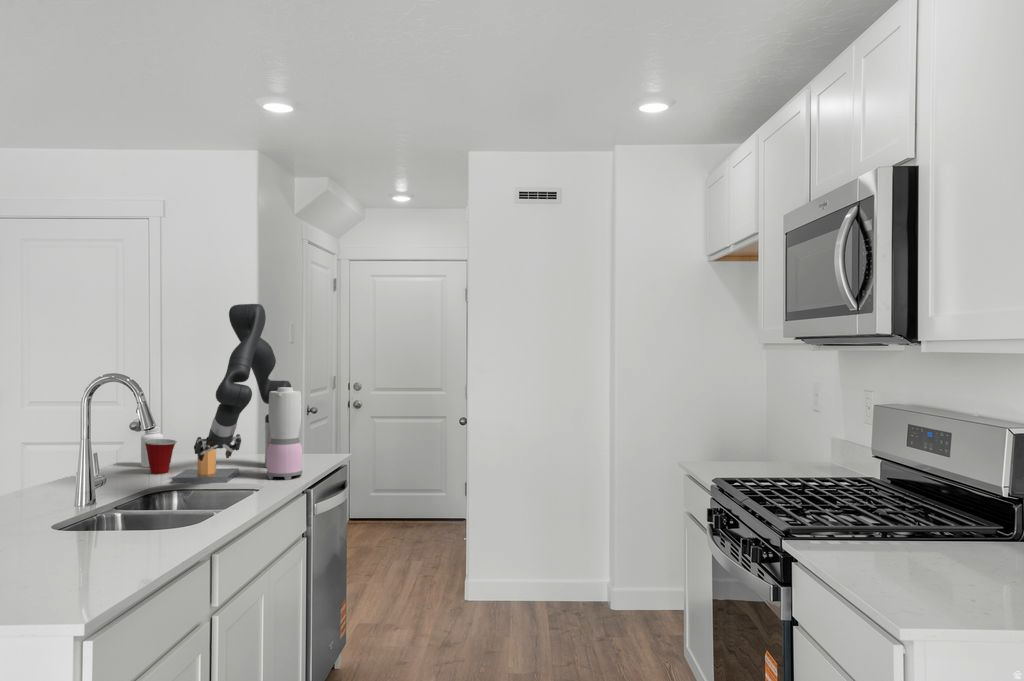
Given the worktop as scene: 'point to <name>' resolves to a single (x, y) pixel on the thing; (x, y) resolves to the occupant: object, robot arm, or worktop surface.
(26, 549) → the worktop surface
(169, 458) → the plastic cup
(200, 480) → the plate
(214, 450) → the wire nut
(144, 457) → the pill bottle
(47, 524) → the worktop surface
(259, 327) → the robot arm
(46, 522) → the worktop surface
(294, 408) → the blender
